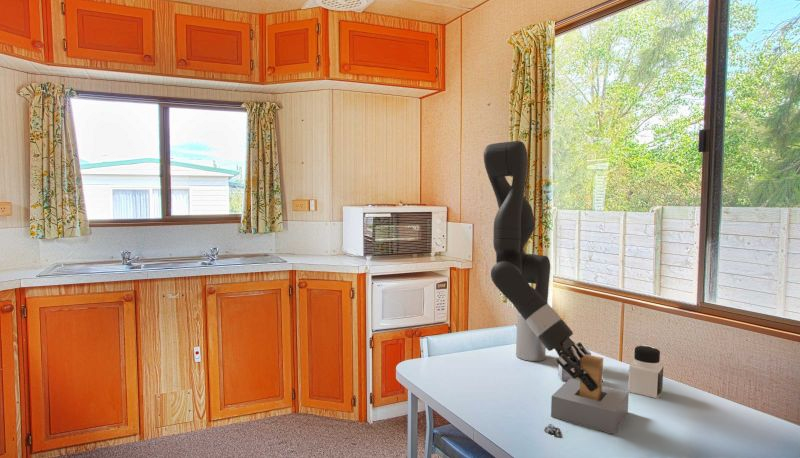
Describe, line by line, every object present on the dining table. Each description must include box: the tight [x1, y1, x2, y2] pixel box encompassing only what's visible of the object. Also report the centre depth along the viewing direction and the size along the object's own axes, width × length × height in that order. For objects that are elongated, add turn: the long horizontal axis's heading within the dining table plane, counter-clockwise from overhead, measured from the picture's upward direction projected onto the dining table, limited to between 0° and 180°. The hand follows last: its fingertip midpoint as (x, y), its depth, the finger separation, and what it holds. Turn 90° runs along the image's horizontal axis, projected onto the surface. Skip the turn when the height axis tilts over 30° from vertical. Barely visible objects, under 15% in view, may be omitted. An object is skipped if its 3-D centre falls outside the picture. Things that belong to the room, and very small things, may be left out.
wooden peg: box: [579, 354, 604, 401], centre depth 116 cm, size 4×4×12 cm
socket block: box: [550, 379, 630, 435], centre depth 116 cm, size 14×14×5 cm
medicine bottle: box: [627, 344, 664, 399], centre depth 130 cm, size 7×7×12 cm
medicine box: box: [557, 347, 592, 382], centre depth 139 cm, size 8×4×9 cm, turn 84°
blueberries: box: [542, 423, 563, 439], centre depth 107 cm, size 7×8×2 cm
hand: (597, 386), depth 115 cm, fingers closed on wooden peg, 4 cm apart
